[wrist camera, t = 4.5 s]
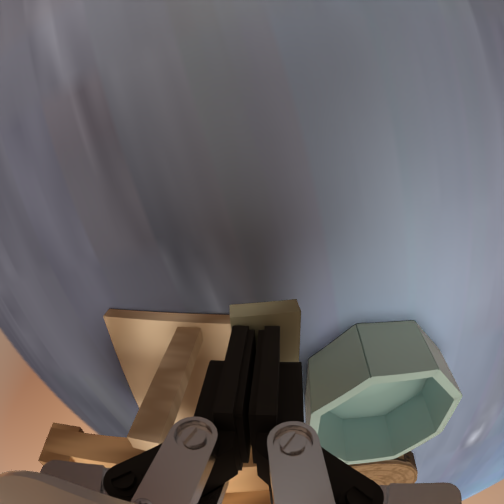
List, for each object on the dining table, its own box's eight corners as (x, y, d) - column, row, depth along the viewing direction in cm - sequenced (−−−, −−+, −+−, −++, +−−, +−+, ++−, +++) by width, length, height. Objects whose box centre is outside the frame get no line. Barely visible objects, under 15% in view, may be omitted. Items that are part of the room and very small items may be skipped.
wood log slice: (357, 500, 33) (358, 516, 30) (257, 485, 31) (255, 505, 29) (438, 447, 26) (444, 466, 24) (331, 428, 25) (333, 454, 22)
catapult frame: (290, 315, 20) (290, 450, 11) (287, 424, 25) (282, 525, 16) (109, 308, 21) (36, 405, 12) (148, 412, 26) (113, 498, 17)
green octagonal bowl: (450, 317, 19) (479, 362, 14) (415, 409, 23) (428, 452, 19) (310, 325, 20) (315, 379, 16) (302, 419, 24) (303, 467, 20)
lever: (300, 295, 12) (322, 352, 9) (288, 482, 18) (295, 519, 15) (-8, 308, 11) (-43, 348, 8) (102, 479, 17) (95, 512, 14)
